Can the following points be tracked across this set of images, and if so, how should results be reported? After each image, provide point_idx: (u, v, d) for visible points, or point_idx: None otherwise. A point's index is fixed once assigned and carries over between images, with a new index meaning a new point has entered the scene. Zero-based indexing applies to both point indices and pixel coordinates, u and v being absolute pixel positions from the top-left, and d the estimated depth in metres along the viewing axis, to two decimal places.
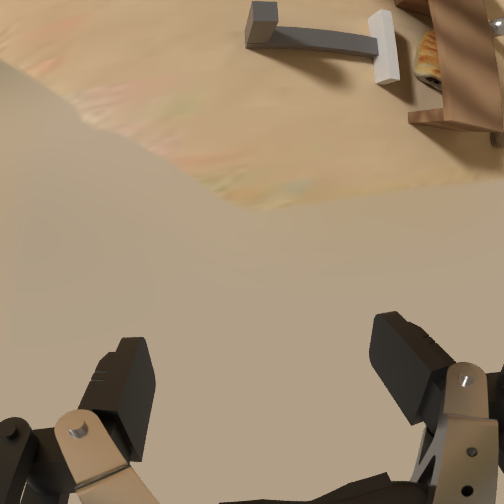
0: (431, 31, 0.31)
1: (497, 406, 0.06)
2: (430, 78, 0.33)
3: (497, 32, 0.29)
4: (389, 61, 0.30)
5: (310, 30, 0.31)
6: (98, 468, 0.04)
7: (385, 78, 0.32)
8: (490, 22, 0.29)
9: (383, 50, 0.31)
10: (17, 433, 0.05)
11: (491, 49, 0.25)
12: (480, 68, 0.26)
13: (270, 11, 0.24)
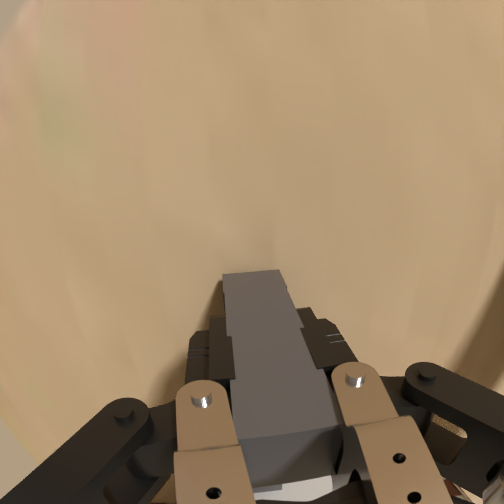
0: None
1: None
2: None
3: None
4: None
5: None
6: (206, 440, 0.05)
7: None
8: None
9: None
10: (133, 414, 0.06)
11: None
12: None
13: (288, 471, 0.06)
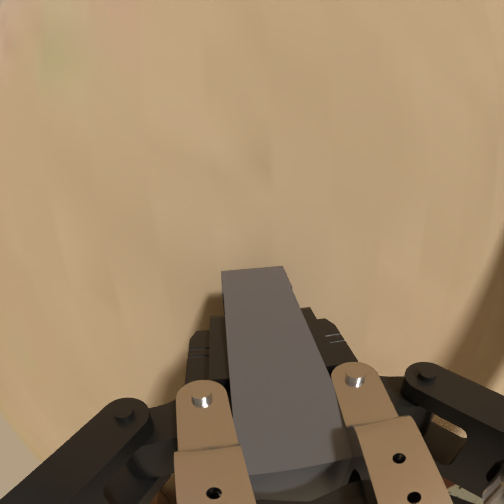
0: None
1: None
2: None
3: None
4: None
5: None
6: (207, 440, 0.05)
7: None
8: None
9: None
10: (134, 414, 0.06)
11: None
12: None
13: (295, 498, 0.06)
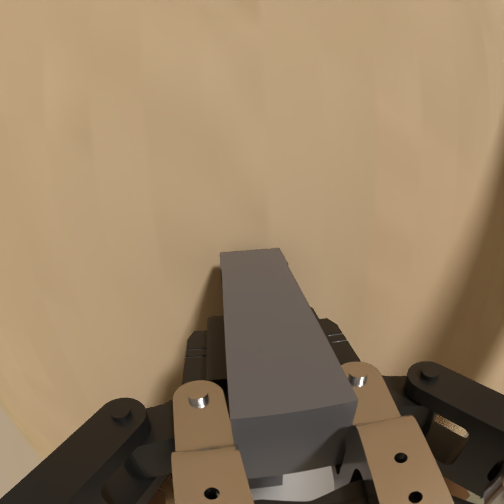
0: None
1: None
2: None
3: None
4: None
5: None
6: (204, 440, 0.05)
7: None
8: None
9: None
10: (130, 414, 0.06)
11: None
12: None
13: (291, 459, 0.06)
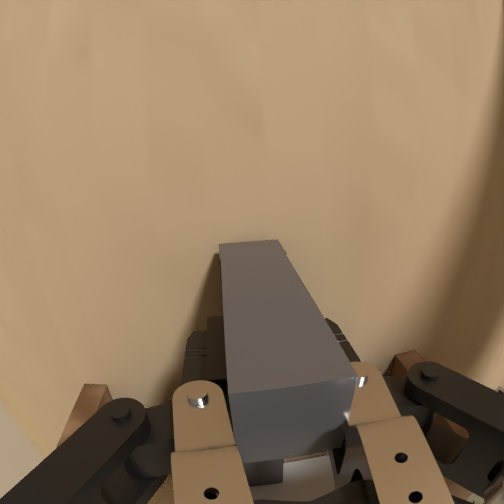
0: None
1: None
2: None
3: None
4: None
5: None
6: (203, 440, 0.05)
7: None
8: None
9: None
10: (130, 414, 0.06)
11: None
12: None
13: (291, 440, 0.06)
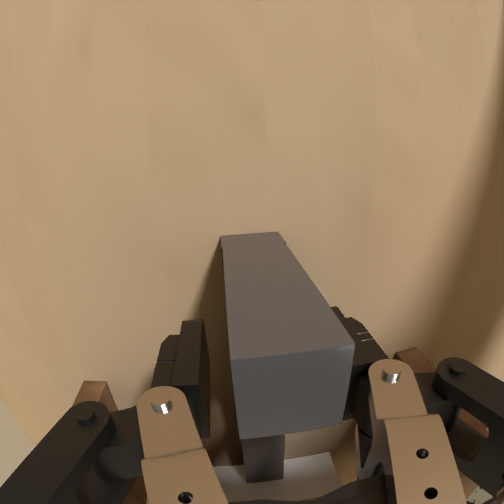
0: None
1: (428, 407, 0.06)
2: None
3: None
4: None
5: None
6: (171, 446, 0.05)
7: None
8: None
9: (252, 499, 0.16)
10: (95, 416, 0.06)
11: None
12: None
13: (291, 414, 0.06)
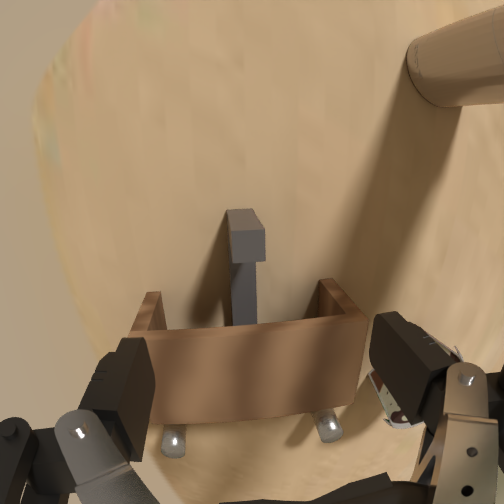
0: None
1: (497, 406, 0.06)
2: None
3: (319, 424, 0.36)
4: None
5: (253, 288, 0.32)
6: (98, 468, 0.04)
7: None
8: (332, 415, 0.37)
9: None
10: (17, 433, 0.05)
11: (270, 413, 0.27)
12: (229, 394, 0.26)
13: (248, 253, 0.23)
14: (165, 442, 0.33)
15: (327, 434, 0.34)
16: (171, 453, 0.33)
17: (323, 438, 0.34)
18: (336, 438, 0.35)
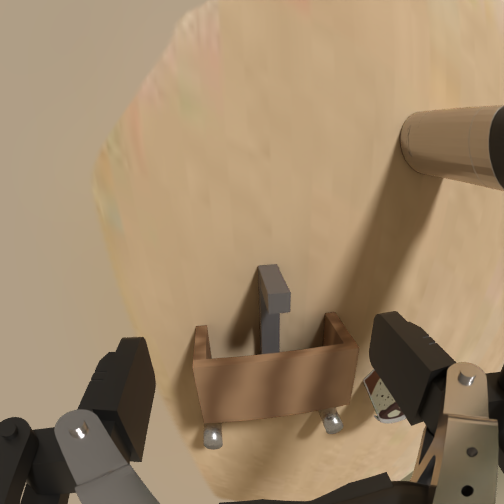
0: None
1: (497, 406, 0.06)
2: None
3: (324, 419, 0.47)
4: None
5: (277, 321, 0.43)
6: (98, 468, 0.04)
7: None
8: (334, 412, 0.48)
9: None
10: (17, 433, 0.05)
11: (290, 411, 0.38)
12: (262, 399, 0.37)
13: (279, 307, 0.34)
14: (207, 437, 0.44)
15: (331, 427, 0.45)
16: (211, 445, 0.44)
17: (328, 430, 0.45)
18: (338, 430, 0.46)
